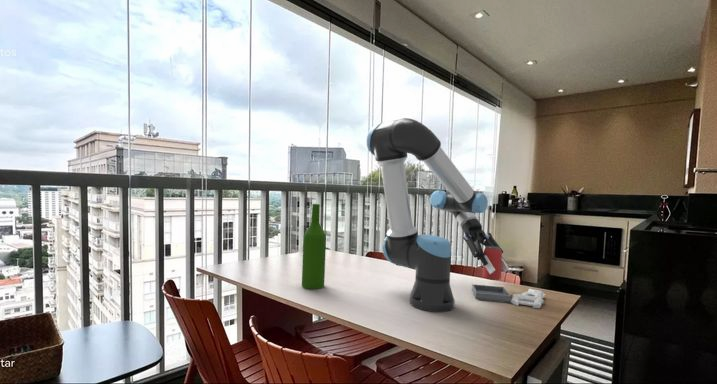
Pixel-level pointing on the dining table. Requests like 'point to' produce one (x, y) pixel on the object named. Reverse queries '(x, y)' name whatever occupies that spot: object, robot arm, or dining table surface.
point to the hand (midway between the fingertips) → (499, 271)
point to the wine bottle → (314, 253)
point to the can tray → (491, 293)
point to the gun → (529, 298)
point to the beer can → (493, 262)
